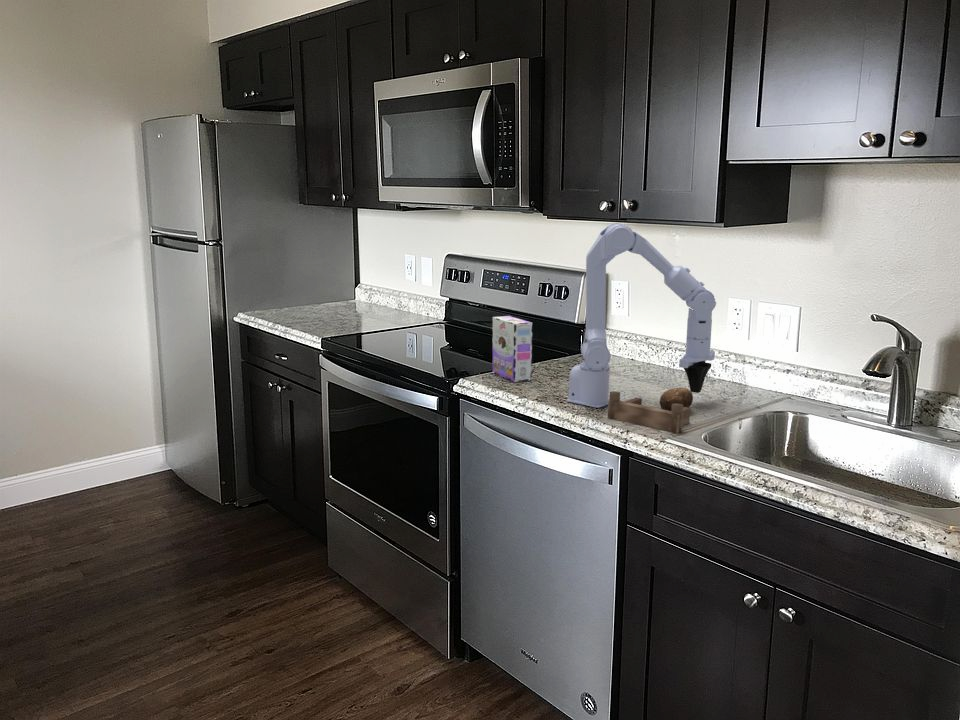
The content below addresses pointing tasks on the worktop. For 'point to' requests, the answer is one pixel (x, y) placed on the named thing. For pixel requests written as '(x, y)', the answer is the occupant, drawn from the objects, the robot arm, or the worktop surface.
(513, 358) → the candy box
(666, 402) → the mushroom
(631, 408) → the wooden crate
